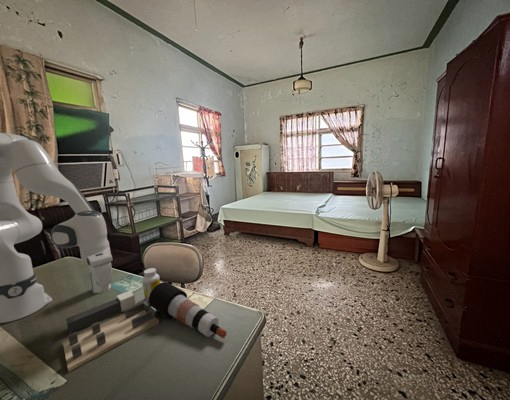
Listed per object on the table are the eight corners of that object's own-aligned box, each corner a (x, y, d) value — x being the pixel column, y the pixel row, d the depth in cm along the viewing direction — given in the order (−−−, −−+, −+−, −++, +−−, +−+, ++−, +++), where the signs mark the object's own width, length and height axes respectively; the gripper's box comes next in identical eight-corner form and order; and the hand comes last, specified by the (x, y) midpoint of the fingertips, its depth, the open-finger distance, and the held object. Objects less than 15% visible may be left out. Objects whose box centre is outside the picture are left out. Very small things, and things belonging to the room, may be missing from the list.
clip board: (63, 345, 70) (60, 333, 69) (144, 307, 87) (143, 298, 87) (68, 372, 60) (65, 358, 59) (158, 323, 78) (157, 312, 77)
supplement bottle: (164, 293, 97) (161, 266, 95) (158, 302, 90) (154, 273, 89) (149, 294, 97) (145, 267, 95) (142, 303, 90) (138, 274, 88)
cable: (219, 357, 68) (209, 344, 62) (156, 312, 85) (143, 298, 80) (237, 327, 74) (229, 312, 68) (175, 291, 92) (164, 276, 86)
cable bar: (67, 328, 78) (65, 315, 77) (131, 300, 93) (130, 290, 92) (69, 335, 74) (67, 322, 73) (135, 305, 89) (134, 295, 88)
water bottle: (114, 288, 104) (107, 238, 100) (92, 295, 98) (84, 242, 94) (111, 282, 110) (104, 234, 106) (90, 288, 104) (82, 238, 100)
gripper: (81, 250, 85) (87, 283, 87) (91, 264, 71) (98, 302, 73) (100, 245, 90) (105, 277, 91) (113, 257, 75) (119, 293, 77)
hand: (102, 288), depth 82 cm, fingers open, 8 cm apart
